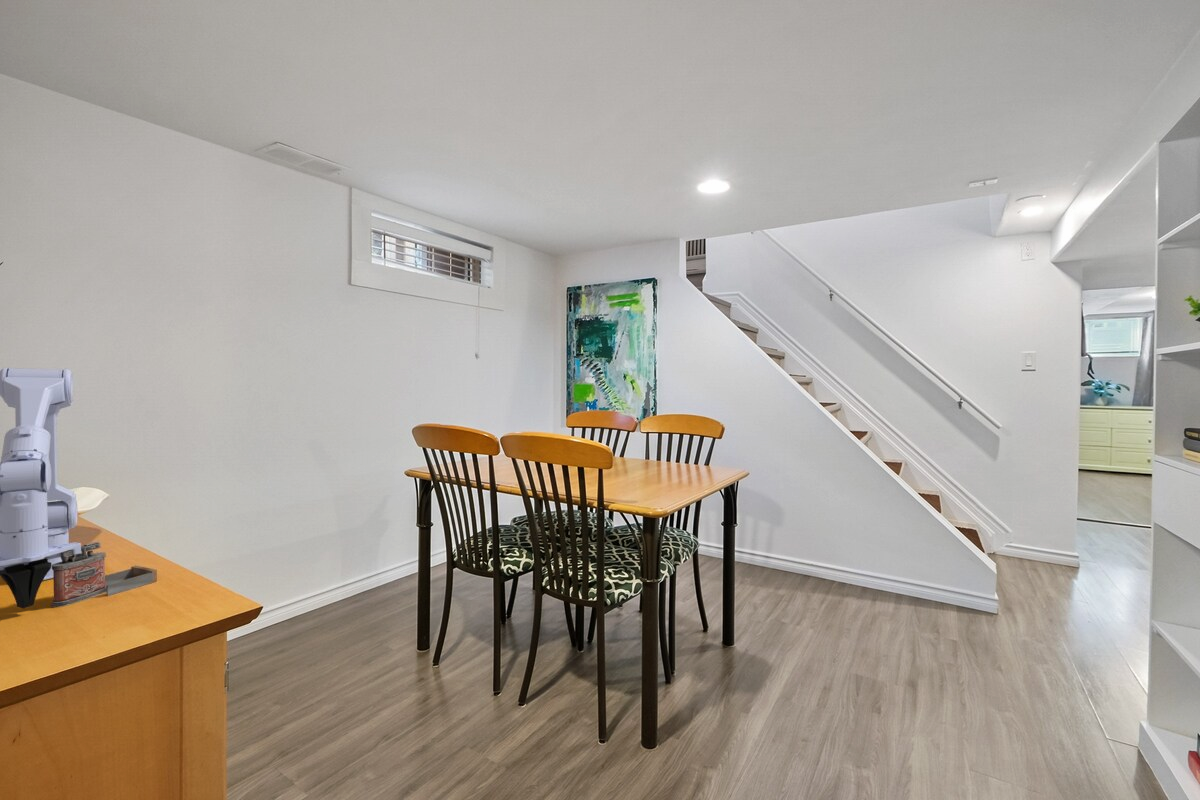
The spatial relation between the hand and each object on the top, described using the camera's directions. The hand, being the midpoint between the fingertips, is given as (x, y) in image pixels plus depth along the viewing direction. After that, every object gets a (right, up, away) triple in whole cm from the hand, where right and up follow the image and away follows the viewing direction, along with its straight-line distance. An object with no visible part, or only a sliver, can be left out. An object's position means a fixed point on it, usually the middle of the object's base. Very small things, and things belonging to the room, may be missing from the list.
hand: (25, 606), depth 91 cm
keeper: (+5, -1, +13) cm, 14 cm away
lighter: (+3, -2, +7) cm, 8 cm away
